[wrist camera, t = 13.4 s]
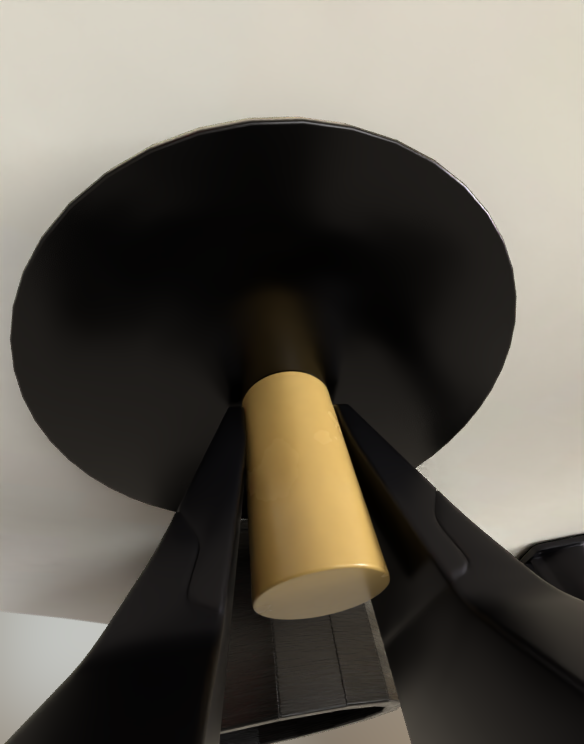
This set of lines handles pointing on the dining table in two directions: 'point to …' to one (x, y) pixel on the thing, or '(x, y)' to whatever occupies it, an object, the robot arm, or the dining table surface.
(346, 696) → the tin
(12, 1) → the dining table surface
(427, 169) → the tin lid
